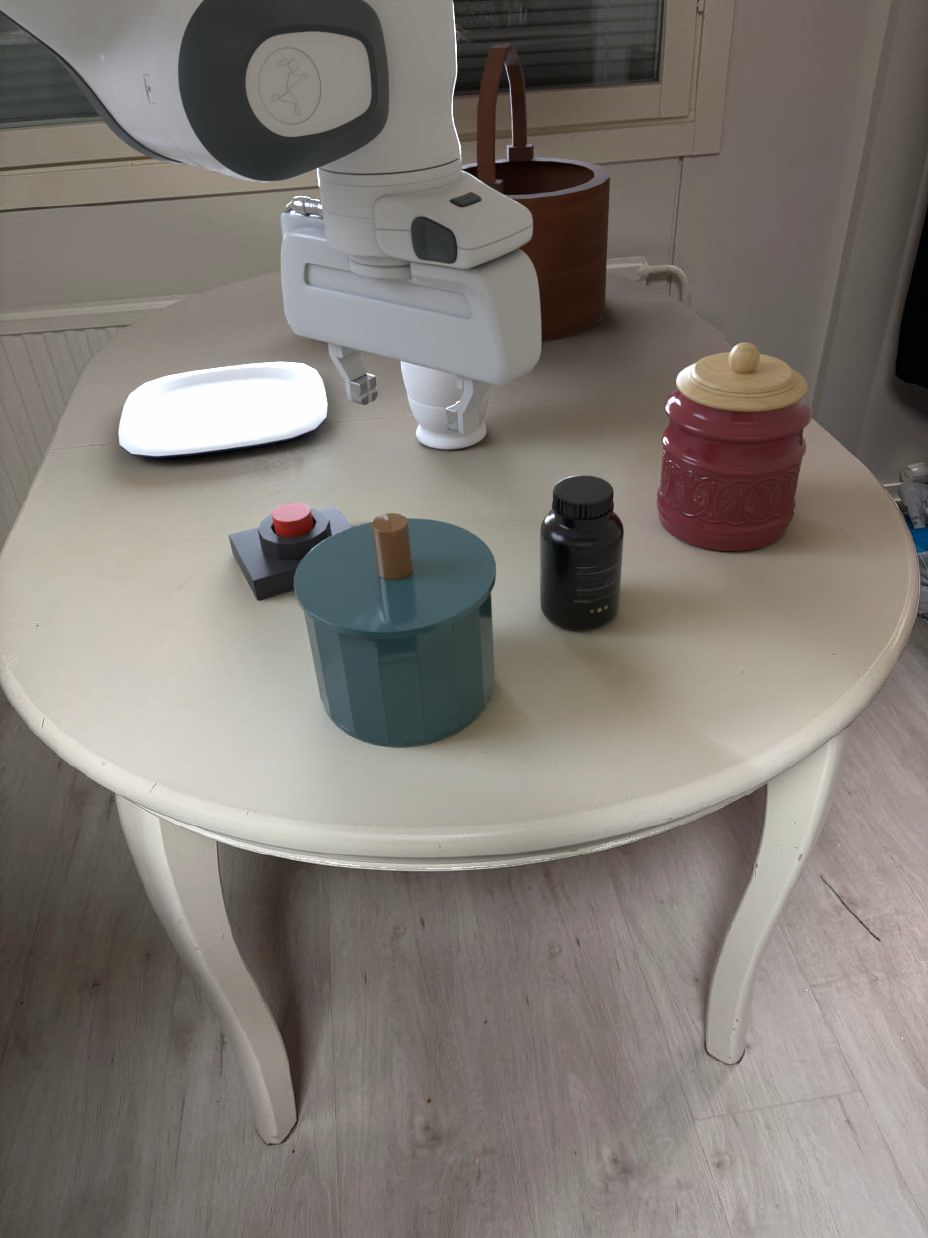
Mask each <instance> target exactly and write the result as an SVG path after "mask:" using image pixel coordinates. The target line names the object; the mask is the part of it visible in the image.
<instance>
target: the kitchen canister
mask: <svg viewBox="0 0 928 1238" xmlns="http://www.w3.org/2000/svg"><path fill="white" fill-rule="evenodd" d="M675 383H676V386H677V388H676V389H674V390H673V391H671V393H670V394H669V395H668V396H667V397H666V400H665V401H664V411H665V413H666V416H667V417H668V419H669V420H668V424H667V426H666V427H665V428H664V430H663V432H662V436H661V443H662V455H661V456H662V457H661V469H660V478H659V486H658V488H657V492H656V508H657V511H658V512H657V513H658V520H659V522H660V524H661V526H662V527H663V528H664V530H666V531H667V532H668V533H669V534H670V535H671V536H673V537H675V538H676V539H678V540H680V541H682V542H684V543H687V544H690V545H692V546H695V547H698V548H703V549H707V550H712V551H721V552H743V551H750V550H756V549H761V548H763V547H766V546H769V545H771V544H773V543H775V542H777V541H779V540H780V539H781V538H783V537H784V535H785V534H786V533H787V531H788V529H789V526H790V524H791V522H792V520H793V519H794V516H795V509H796V493H797V489H798V483H799V478H800V472H801V468H802V461H803V457H804V456H805V455H806V453H807V442H806V439H805V437H804V429H805V428H806V427H808V425H809V424H810V422H811V421H812V419H813V416H814V411H813V407H812V405H811V403H810V402H809V401H808V399H807V398H806V397H805V395H806V394H807V391H808V383H807V380H806V379H805V377H804V376H803V375H802V374H800V372H799V371H797V370H795V369H793V368H792V367H791V366H790V365H789V364H788V363H786V362H785V361H784V360H781V359H780V358H776V357H775V356H771V355H767V354H763V353H760V350H759V348H758V347H757V346H756V345H755V344H753V343H751V342H740V343H738V344H736V345H734V346H733V348H731V351H729V352H719V353H714V354H711V355H708V356H704V357H703V358H700V359H699V360H698V361H697V362H695V363H692V364H690V365H688V366H687V367H684V368H683V369H682V370H681V371H680V372H679V373H678V375H677V377H676V381H675Z"/></svg>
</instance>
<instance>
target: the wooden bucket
mask: <svg viewBox="0 0 928 1238" xmlns="http://www.w3.org/2000/svg"><path fill="white" fill-rule="evenodd" d="M504 68H505V70H506V76H507V79H508V83H509V99H510V115H511V144H506V158H501V159H496V121H497V120H496V118H497V117H496V114H497V111H496V110H497V103H498V97H499V95H498V94H499V89H500V88H499V87H500V82H501V81H500V80H501V77H502V74H503V71H504ZM526 93H527V92H526V81H525V75H524V71H523V66H522V62H521V60H520V57H519V54H518V52H517V49H516V47H515V43H497V44H494V45H493V46H491V47H489V50H488V53H487V58H486V61H485V65H484V69H483V74H482V77H481V80H480V87H479V93H478V100H477V106H476V107H477V108H476V162H471V163H466V164H461V166H462V171H465V172H467V173H469V174H471V175H472V176H473V177H475V178H476V179H478V180H479V181H481V182H482V183H484V184H486V185H487V186H489V187H491V188H492V189H494V190H496V191H498V192H499V193H501V194H503V195H505V196H507V197H509V198H510V199H512V200H514V201H516V202H518V203H520V204H522V205H523V206H525V207H526V208H527V209H528V210H529V211H530V212H531V215H532V219H533V233H532V237H531V240H530V241H529V242H528V243H526V244H524V245H523V246H521V247H519V249H520V250H522V251H523V252H524V253H525V254H526V255H527V256H528V257H529V258H530V260H531V261H532V263H533V266H534V268H535V271H536V275H537V279H538V286H539V296H540V309H541V342H545V341H547V342H548V341H554V340H560V339H563V338H567V337H571V336H574V335H577V334H581V333H583V332H585V331H587V330H589V329H590V328H593V327H594V326H596V325H598V324H599V323H600V321H601V320H602V319H603V317H604V316H605V311H606V287H607V286H606V285H607V265H608V264H607V263H608V262H607V261H608V241H609V240H608V239H609V238H608V237H609V213H610V190H611V189H610V187H611V173H610V170H609V169H608V168H605V167H603V166H602V165H600V164H596V163H592V162H588V161H584V160H578V159H568V158H560V157H559V158H558V157H535V152H534V151H535V150H534V147H535V145H534V143H528V115H527V95H526Z"/></svg>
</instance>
